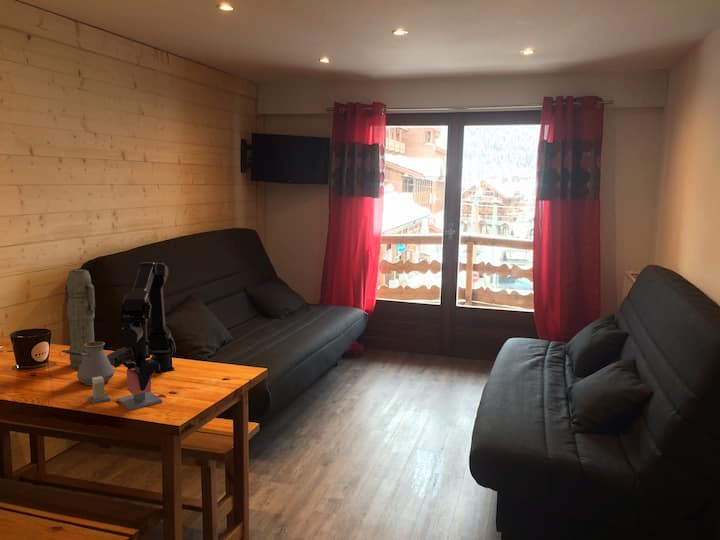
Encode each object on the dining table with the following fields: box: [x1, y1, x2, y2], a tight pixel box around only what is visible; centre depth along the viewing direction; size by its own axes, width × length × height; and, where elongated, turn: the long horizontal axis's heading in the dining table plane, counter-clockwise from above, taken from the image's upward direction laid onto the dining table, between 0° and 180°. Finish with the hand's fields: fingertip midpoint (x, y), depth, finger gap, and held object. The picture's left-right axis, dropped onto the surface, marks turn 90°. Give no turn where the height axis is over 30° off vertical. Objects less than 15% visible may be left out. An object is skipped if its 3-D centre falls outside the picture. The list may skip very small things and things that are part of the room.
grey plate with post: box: [116, 391, 163, 411], centre depth 178 cm, size 10×10×7 cm
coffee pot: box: [58, 341, 115, 386], centre depth 190 cm, size 21×12×15 cm, turn 168°
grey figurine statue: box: [64, 268, 96, 370], centre depth 210 cm, size 9×12×35 cm
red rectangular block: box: [126, 368, 152, 395], centre depth 178 cm, size 5×5×7 cm
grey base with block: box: [87, 376, 111, 405], centre depth 179 cm, size 5×5×7 cm
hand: (139, 387), depth 178 cm, fingers closed on red rectangular block, 5 cm apart
